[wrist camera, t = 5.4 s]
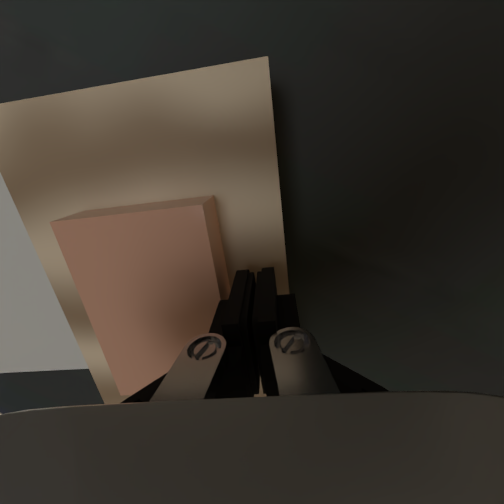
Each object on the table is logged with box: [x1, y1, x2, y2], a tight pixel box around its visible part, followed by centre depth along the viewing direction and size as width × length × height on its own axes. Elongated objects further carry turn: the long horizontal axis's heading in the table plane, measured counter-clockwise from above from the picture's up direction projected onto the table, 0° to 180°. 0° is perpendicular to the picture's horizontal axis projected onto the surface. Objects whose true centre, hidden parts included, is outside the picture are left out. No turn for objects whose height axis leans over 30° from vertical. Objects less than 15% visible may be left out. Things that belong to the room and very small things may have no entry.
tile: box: [50, 195, 230, 396], centre depth 12 cm, size 9×6×2 cm, turn 7°
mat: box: [0, 173, 88, 373], centre depth 18 cm, size 16×13×1 cm
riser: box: [0, 56, 289, 404], centre depth 15 cm, size 18×12×4 cm, turn 7°
